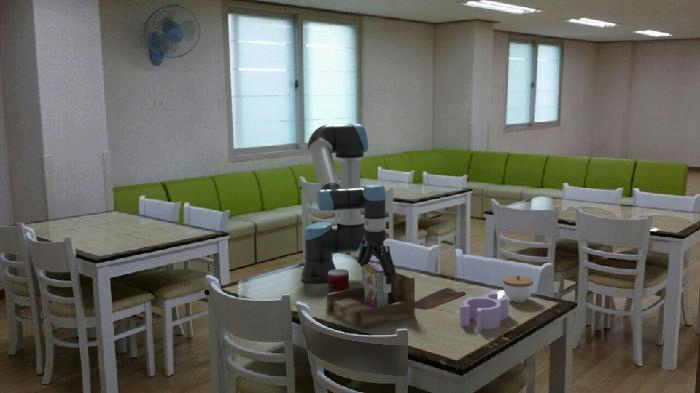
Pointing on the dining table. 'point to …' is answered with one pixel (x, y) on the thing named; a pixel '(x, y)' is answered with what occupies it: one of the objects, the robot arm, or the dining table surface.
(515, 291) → the lidded jar
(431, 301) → the wooden tablet
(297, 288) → the dining table surface
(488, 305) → the clip
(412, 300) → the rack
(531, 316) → the dining table surface
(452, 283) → the dining table surface
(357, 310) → the offcut upper
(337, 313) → the offcut lower
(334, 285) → the canned food
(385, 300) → the candy bar box
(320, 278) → the robot arm
